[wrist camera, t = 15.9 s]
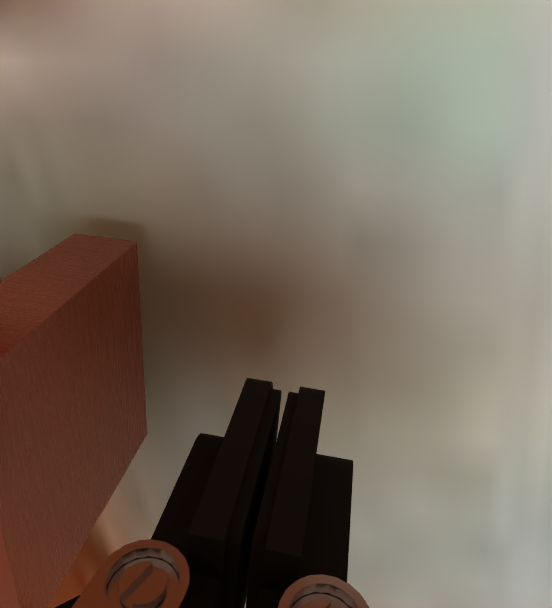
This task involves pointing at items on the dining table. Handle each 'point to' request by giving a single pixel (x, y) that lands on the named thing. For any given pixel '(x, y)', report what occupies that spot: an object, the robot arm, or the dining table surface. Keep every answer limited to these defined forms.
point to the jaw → (65, 405)
